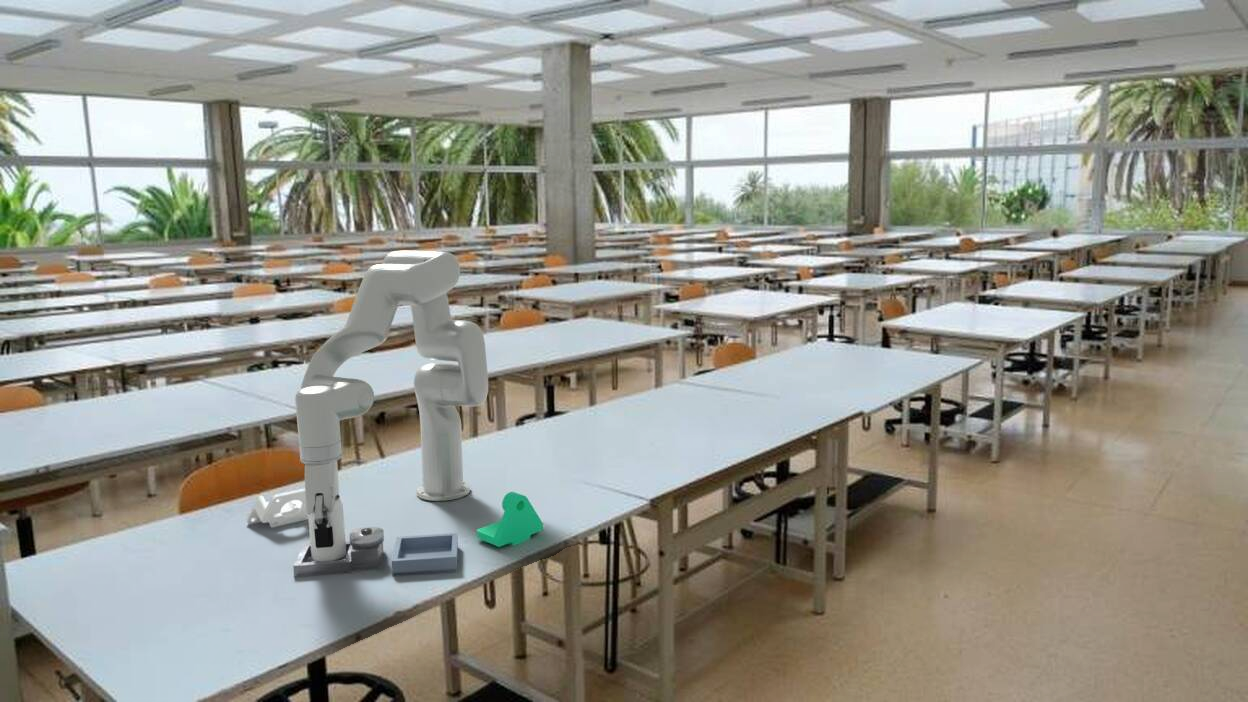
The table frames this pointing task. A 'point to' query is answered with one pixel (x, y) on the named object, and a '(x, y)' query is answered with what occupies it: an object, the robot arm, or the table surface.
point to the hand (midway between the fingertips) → (327, 538)
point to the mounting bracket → (279, 509)
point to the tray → (425, 554)
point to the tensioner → (360, 556)
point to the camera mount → (512, 522)
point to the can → (338, 535)
